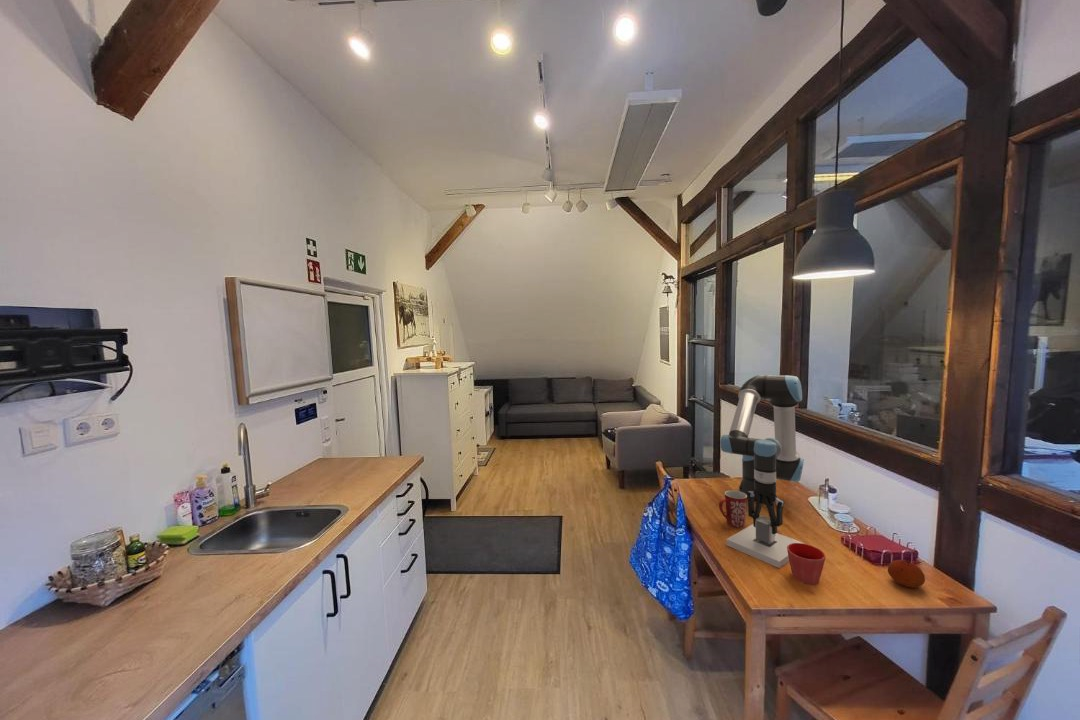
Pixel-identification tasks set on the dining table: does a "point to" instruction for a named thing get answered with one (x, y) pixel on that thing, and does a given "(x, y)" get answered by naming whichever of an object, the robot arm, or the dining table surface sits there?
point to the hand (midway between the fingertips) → (764, 538)
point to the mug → (734, 508)
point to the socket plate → (762, 546)
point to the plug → (762, 528)
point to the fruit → (906, 573)
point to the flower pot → (806, 562)
